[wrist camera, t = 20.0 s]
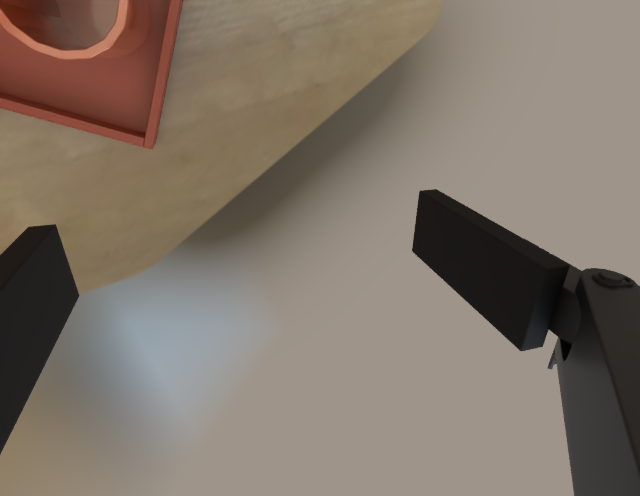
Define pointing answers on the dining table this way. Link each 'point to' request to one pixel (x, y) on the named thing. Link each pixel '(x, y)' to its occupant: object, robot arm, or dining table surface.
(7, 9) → the terracotta tumbler
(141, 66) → the red tray
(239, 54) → the dining table surface
